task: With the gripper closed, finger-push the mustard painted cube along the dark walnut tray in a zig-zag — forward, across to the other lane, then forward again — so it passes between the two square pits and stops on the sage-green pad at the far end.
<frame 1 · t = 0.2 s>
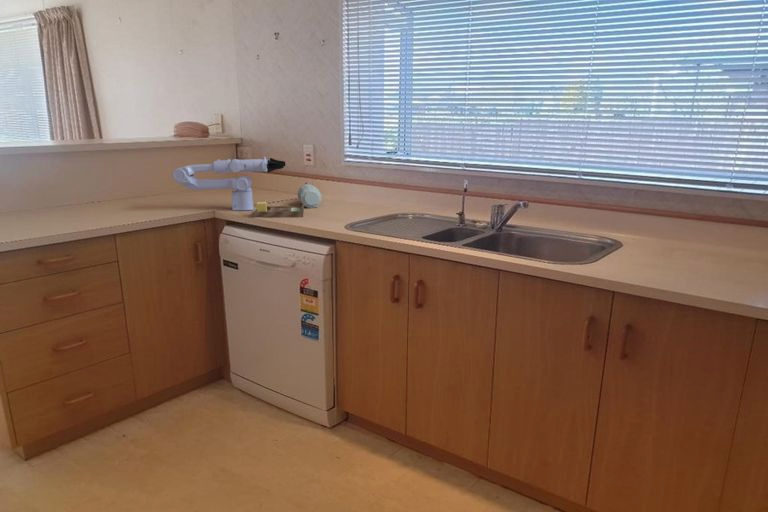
hand: (284, 164, 255), 21 cm above the worktop, fingers open, 7 cm apart
block: (261, 211, 243), point 2 cm above the worktop, touching tray
device: (307, 203, 277), on the worktop
tray: (279, 214, 248), on the worktop
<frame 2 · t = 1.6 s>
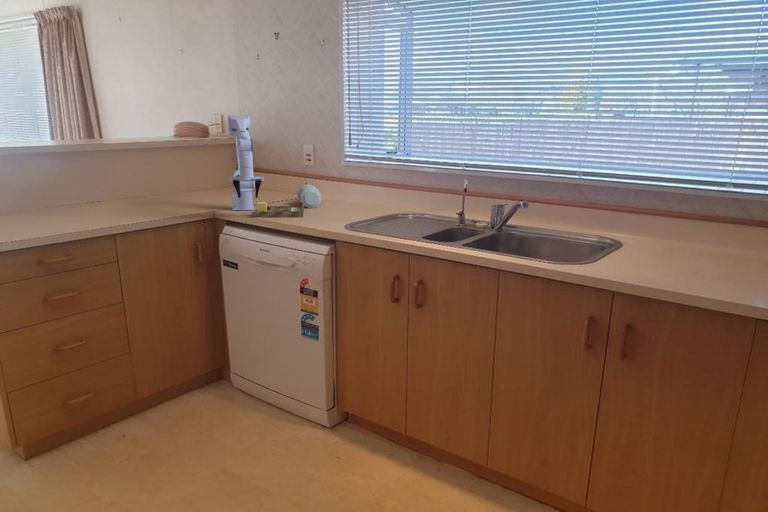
hand: (248, 197, 241), 8 cm above the worktop, fingers open, 7 cm apart
nothing on the worktop moved.
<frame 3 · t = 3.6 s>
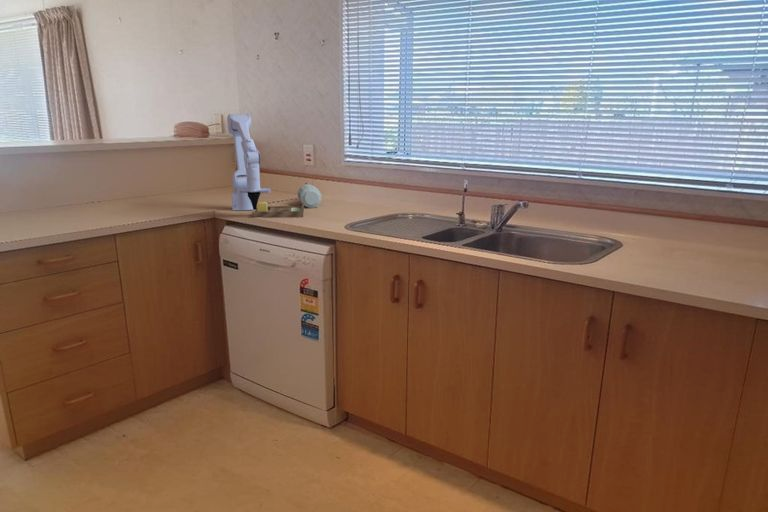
hand: (254, 209, 243), 3 cm above the worktop, fingers closed
block: (262, 211, 243), point 2 cm above the worktop, touching gripper, tray
everything else where it was.
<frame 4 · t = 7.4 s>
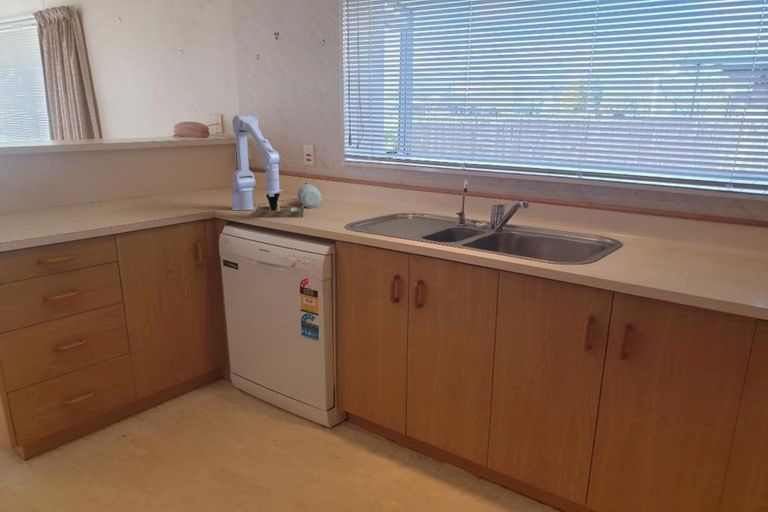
hand: (273, 210, 241), 3 cm above the worktop, fingers closed
block: (274, 211, 244), point 2 cm above the worktop, touching gripper
everything else where it was.
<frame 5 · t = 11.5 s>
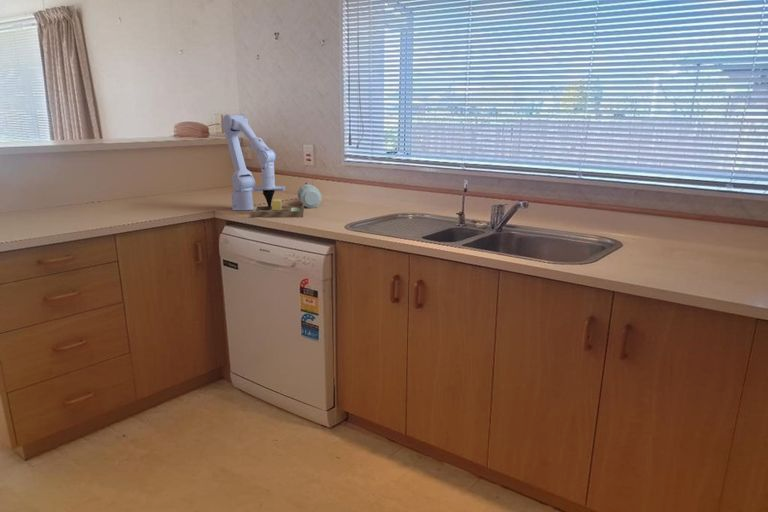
hand: (269, 206, 249), 3 cm above the worktop, fingers closed
block: (276, 208, 250), point 2 cm above the worktop, touching gripper, tray
everything else where it was.
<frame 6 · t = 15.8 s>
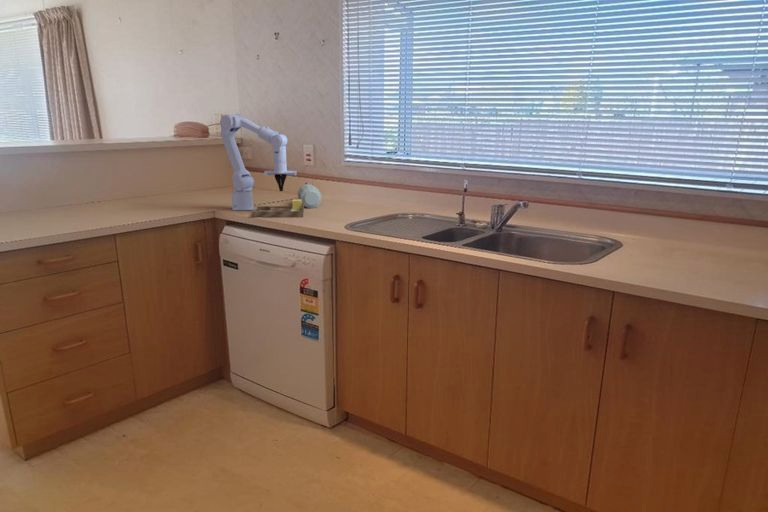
hand: (281, 190, 251), 10 cm above the worktop, fingers closed
block: (297, 208, 251), point 2 cm above the worktop, touching tray
everything else where it was.
at the end: block inside the target area on the tray (3.0 cm from its centre), point 2.0 cm above the tray's base; block tilted 0° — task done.
